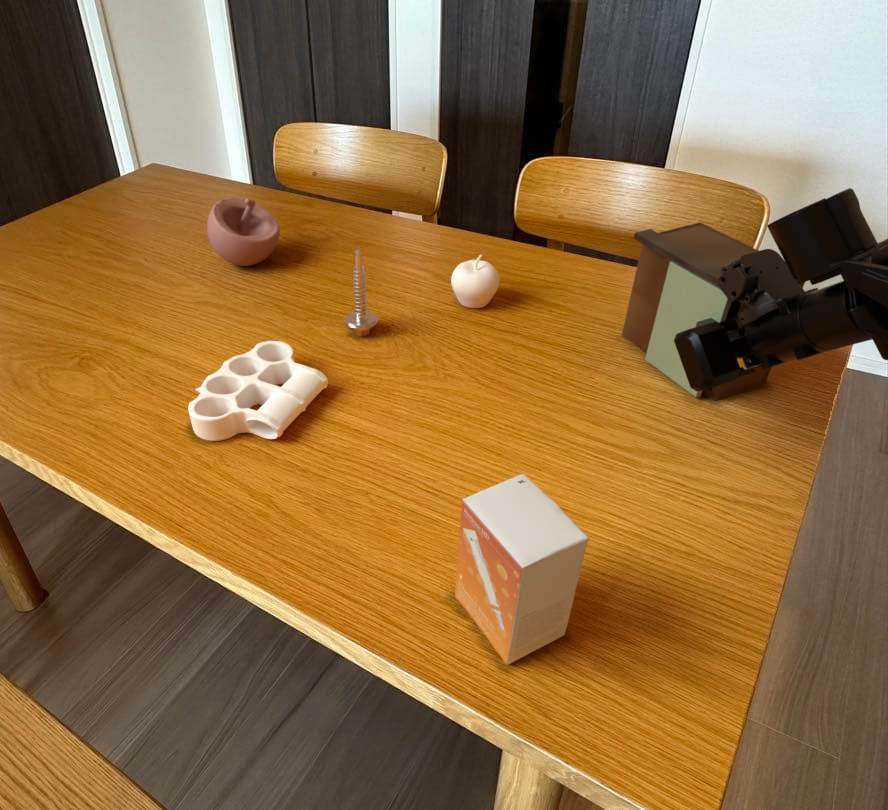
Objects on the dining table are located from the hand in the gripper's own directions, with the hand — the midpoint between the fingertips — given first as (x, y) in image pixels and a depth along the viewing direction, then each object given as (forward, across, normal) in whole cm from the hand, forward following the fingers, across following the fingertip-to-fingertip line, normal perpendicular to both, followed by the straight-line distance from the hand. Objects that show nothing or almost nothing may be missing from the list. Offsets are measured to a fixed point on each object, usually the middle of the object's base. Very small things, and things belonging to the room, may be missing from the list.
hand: (703, 357), depth 79 cm
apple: (+28, +11, -18) cm, 35 cm away
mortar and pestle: (+49, +38, -39) cm, 73 cm away
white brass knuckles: (+21, +48, -11) cm, 53 cm away
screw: (+28, +29, -18) cm, 44 cm away
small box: (-7, +36, +17) cm, 40 cm away
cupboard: (+10, -6, 0) cm, 11 cm away
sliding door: (+8, 0, +1) cm, 8 cm away
